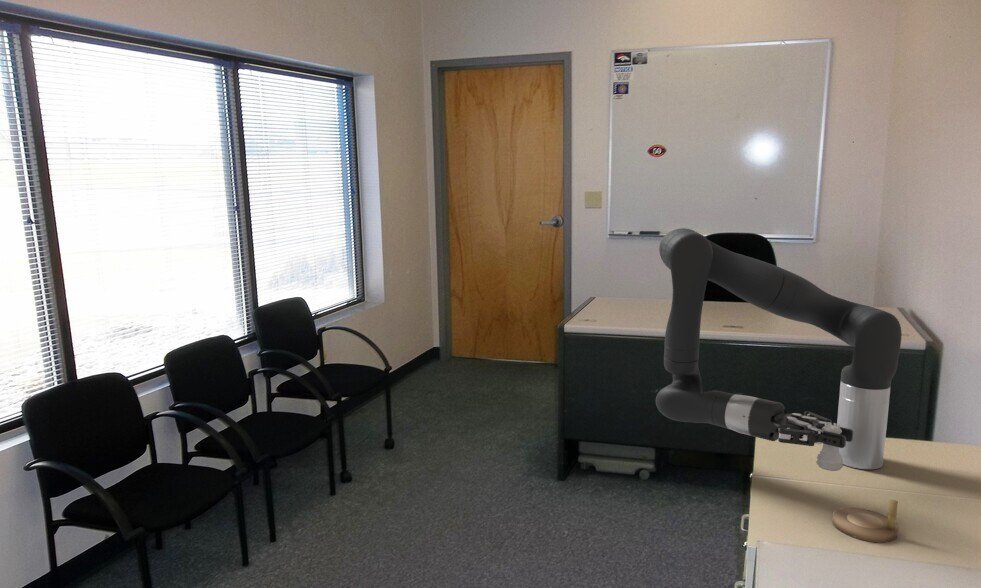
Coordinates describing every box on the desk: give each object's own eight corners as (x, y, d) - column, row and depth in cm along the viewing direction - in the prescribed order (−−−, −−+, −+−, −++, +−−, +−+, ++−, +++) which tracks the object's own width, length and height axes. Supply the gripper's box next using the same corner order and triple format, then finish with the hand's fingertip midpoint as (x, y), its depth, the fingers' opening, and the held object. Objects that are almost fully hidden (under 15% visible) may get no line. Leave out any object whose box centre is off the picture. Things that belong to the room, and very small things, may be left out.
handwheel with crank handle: (843, 508, 127) (846, 476, 126) (905, 527, 120) (908, 493, 119) (823, 527, 120) (826, 493, 118) (888, 548, 113) (891, 513, 112)
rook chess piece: (840, 462, 128) (843, 421, 127) (845, 472, 124) (848, 430, 123) (813, 460, 130) (816, 419, 128) (818, 470, 125) (821, 428, 124)
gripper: (739, 407, 130) (836, 429, 118) (770, 390, 140) (863, 409, 128) (737, 445, 131) (833, 471, 119) (768, 425, 141) (860, 447, 129)
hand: (848, 439), depth 124 cm, fingers closed on rook chess piece, 3 cm apart
